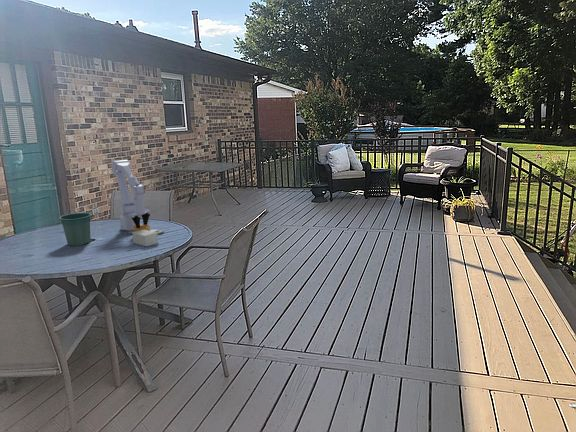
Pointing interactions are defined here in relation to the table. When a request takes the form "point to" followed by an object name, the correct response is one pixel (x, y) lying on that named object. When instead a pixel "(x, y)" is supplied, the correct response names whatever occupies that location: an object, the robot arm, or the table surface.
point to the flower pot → (76, 228)
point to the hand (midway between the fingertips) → (141, 226)
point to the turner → (144, 228)
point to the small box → (145, 237)
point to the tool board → (156, 232)
